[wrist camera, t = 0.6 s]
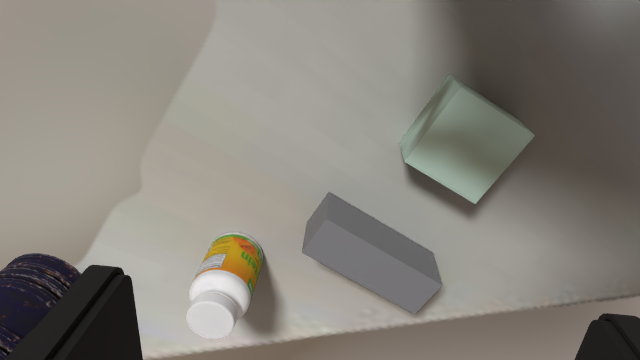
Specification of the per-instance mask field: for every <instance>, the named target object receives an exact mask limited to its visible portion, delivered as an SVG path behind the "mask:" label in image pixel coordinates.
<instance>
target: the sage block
mask: <svg viewBox="0 0 640 360" xmlns="http://www.w3.org/2000/svg"><path fill="white" fill-rule="evenodd" d="M534 136H535V135H534V134H533V133H532V132H531V131H530V130H529V129H528V128H527V127H526V126H525V125H523V124H522V123H521V122H520V121H519V120H518V119H517V118H516V117H514V116H513V115H511V114H509V113H508V112H506V111H505V110H503V109H502V108H500V107H499V106H497V105H496V104H494V103H493V102H491V101H490V100H488V99H487V98H485V97H483V96H482V95H480V94H479V93H477V92H476V91H474V90H473V89H471V88H470V87H468V86H467V85H465V84H464V83H462V82H461V81H459V80H457V79H456V78H454V77H453V76H451V75H450V74H449V75H448V77H447V78H446V79H445V81H444V82H443V83H442V85H441V86H440V88H439V89H438V90H437V92H436V93H435V94H434V96H433V97H432V98H431V100H430V101H429V103H428V104H427V105H426V107H425V108H424V109H423V111H422V112H421V113H420V115H419V116H418V118H417V119H416V120H415V122H414V123H413V124H412V126H411V127H410V128H409V130H408V131H407V133H406V134H405V135H404V137H403V138H402V139H401V141H400V142H399V144H400V147H401V151H402V155H403V158H404V162H406V163H407V164H409V165H411V166H412V167H414V168H416V169H417V170H419V171H421V172H422V173H424V174H426V175H427V176H429V177H431V178H432V179H434V180H436V181H437V182H439V183H441V184H442V185H444V186H446V187H447V188H449V189H451V190H452V191H454V192H456V193H457V194H459V195H461V196H462V197H464V198H466V199H467V200H469V201H471V202H472V203H474V204H476V203H477V201H478V200H479V199H480V198H481V197H482V196H483V195H484V193H485V192H486V191H487V190H488V189H489V188H490V187H491V185H492V184H493V183H494V182H495V181H496V180H497V179H498V177H499V176H500V175H501V174H502V173H503V172H504V171H505V169H506V168H507V167H508V166H509V165H510V164H511V163H512V161H513V160H514V159H515V158H516V157H517V156H518V155H519V153H520V152H521V151H522V150H523V149H524V148H525V147H526V145H527V144H528V143H529V142H530V141H531V140H532V139H533V137H534Z"/></svg>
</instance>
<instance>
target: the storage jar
mask: <svg viewBox="0 0 640 360" xmlns="http://www.w3.org/2000/svg"><path fill="white" fill-rule="evenodd" d="M80 275H81V273H80V272H79V271H78V270H77V269H75V268H74V267H73V266H71V265H70V264H68V263H67V262H65V261H63V260H61V259H59V258H56V257H54V256H50V255H46V254H39V253H38V254H36V253H32V254H25V255H22V256H19V257H17V258H15V259H14V260H13V261H12V262H10V263H9V264H8V265H7V266H6V268H4V269H3V270H1V271H0V360H4V359H5V358H6V357H7V356H8V355H9V354H10V352H11V351H12V350H13V349H14V348H15V347H16V346H17V344H18V343H19V342H20V341H21V340H22V339H23V338H24V337H25V336H26V335H27V334H28V333H29V332H30V331H31V330H33V329H34V328H35V327H36V326H37V325H38V324H39V323H40V322H41V320H42V319H43V318H44V317H45V316H46V315H47V313H48V312H49V311H50V310H51V309H52V308H53V307H54V305H55V304H56V303H57V302H58V301H59V300H60V299H61V297H62V296H63V295H64V294H65V293H66V292H67V290H68V289H69V288H70V287H71V286H72V285H73V284H74V282H75V281H76V280H77V279H78V278H79V277H80Z"/></svg>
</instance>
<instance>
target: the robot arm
mask: <svg viewBox="0 0 640 360" xmlns="http://www.w3.org/2000/svg"><path fill="white" fill-rule="evenodd" d="M4 360H143V358H142V351H141V344H140V336H139V329H138V322H137V315H136V308H135V301H134V294H133V286H132V280H131V277H130V276H128V275H124V272H123V270H122V268H119V267H111V266H100V265H91V266H89V267H88V268H87V269H86V270H85V271H84V272H83V273H82V274H81V275H80V277H79V278H78V279H77V280H76V281H75V282H74V284H73V285H72V286H71V287H70V288H69V289H68V290H67V292H66V293H65V294H64V295H63V296H62V297H61V299H60V300H59V301H58V302H57V303H56V304H55V305H54V307H53V308H52V309H51V310H50V311H49V312H48V313H47V315H46V316H45V317H44V318H43V319H42V320H41V322H40V323H39V324H38V325H37V326H36V327H35V328H34V329H33V330H31V331H30V332H29V333H28V334H27V335H26V336H25V337H24V338H23V339H22V340H21V341H20V342H19V343H18V344H17V346H16V347H15V348H14V349H13V350H12V351H11V352H10V354H9V355H8V356H7V357H6V358H5V359H4ZM575 360H640V318H638V317H636V316H629V315H618V314H603V315H601V316H600V317H599V319H598V320H593V321H592V322H591V324H590V325H589V327H588V330H587V332H586V334H585V337H584V339H583V341H582V344H581V346H580V348H579V351H578V353H577V355H576V358H575Z"/></svg>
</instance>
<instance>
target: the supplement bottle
mask: <svg viewBox="0 0 640 360" xmlns="http://www.w3.org/2000/svg"><path fill="white" fill-rule="evenodd" d="M262 261H263V253H262V250H261V248H260V246H259V245H258V243H257V242H256V241H255V240H254V239H253V238H251V237H250V236H248V235H245V234H243V233H238V232H230V233H225V234H223V235H221V236H219V237H218V238H217V239H215V241H214V242H213V243H212V245H211V247H210V248H209V250H208V253H207V254H206V257H205V259H204V260H203V262H202V265H201V266H200V269H199V270H198V272H197V274H196V276H195V278H194V280H193V282H192V285H191V287H190V291H189V300H190V303H191V304H190V307H189V310H188V312H187V323H188V325H189V327H190V328H191V330H192V331H193V332H194V333H196V334H197V335H199V336H201V337H203V338H207V339H221V338H224V337H226V336H227V335H229V334H230V333H231V332H232V330H233V328H234V325H235V323H236V320H238V319H239V318H241V317H242V316H243V315H244V314H245V313H246V311H247V309H248V307H249V305H250V301H251V298H252V295H253V291H254V288H255V285H256V282H257V278H258V275H259V272H260V269H261V265H262Z"/></svg>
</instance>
